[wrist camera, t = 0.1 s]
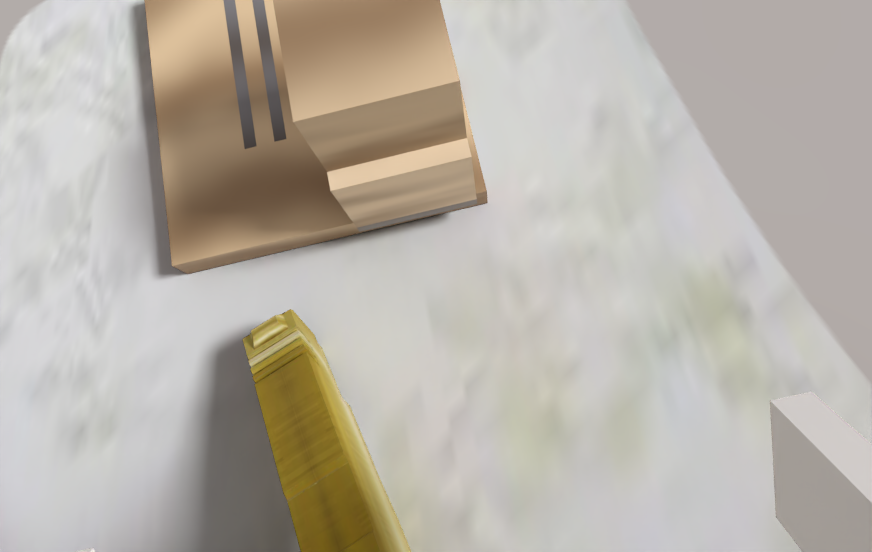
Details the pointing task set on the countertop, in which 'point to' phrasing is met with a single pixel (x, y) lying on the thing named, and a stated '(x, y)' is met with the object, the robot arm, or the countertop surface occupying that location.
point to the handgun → (318, 445)
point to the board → (237, 138)
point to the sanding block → (379, 105)
